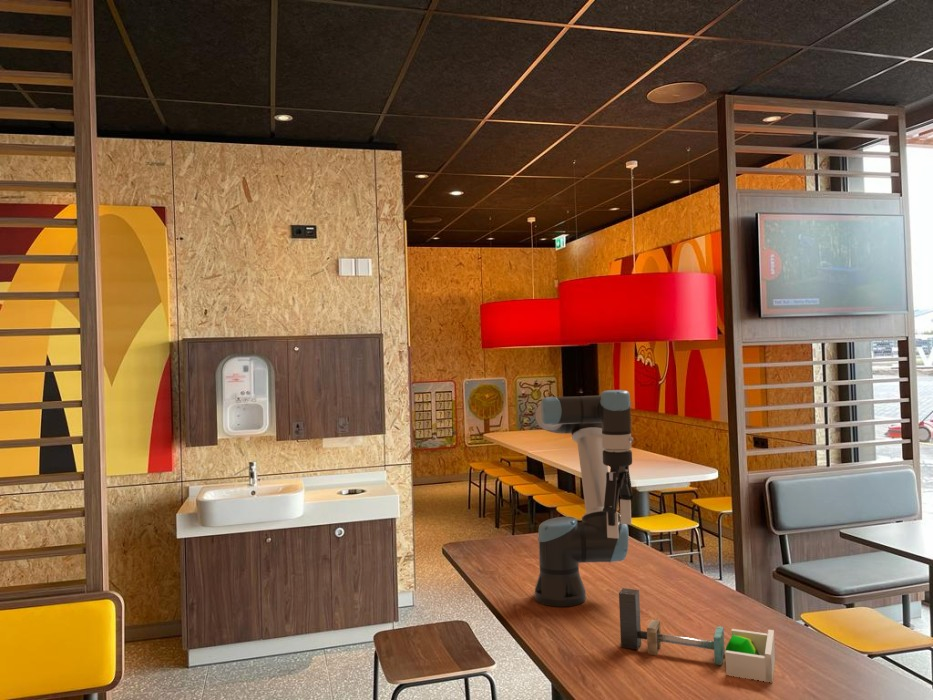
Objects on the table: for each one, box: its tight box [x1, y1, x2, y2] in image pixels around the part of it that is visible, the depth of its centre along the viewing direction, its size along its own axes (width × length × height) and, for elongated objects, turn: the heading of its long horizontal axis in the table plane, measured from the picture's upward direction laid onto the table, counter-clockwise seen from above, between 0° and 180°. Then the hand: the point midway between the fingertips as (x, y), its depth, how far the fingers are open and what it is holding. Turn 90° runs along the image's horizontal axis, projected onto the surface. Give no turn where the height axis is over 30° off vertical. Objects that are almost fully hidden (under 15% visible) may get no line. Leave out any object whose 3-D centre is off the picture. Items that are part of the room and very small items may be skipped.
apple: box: [725, 634, 759, 655], centre depth 153 cm, size 7×6×9 cm
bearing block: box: [646, 619, 662, 656], centre depth 160 cm, size 2×6×6 cm, turn 153°
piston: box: [618, 588, 726, 666], centre depth 158 cm, size 23×7×13 cm, turn 63°
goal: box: [724, 628, 776, 684], centre depth 150 cm, size 9×14×6 cm, turn 153°
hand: (619, 530), depth 173 cm, fingers open, 13 cm apart
